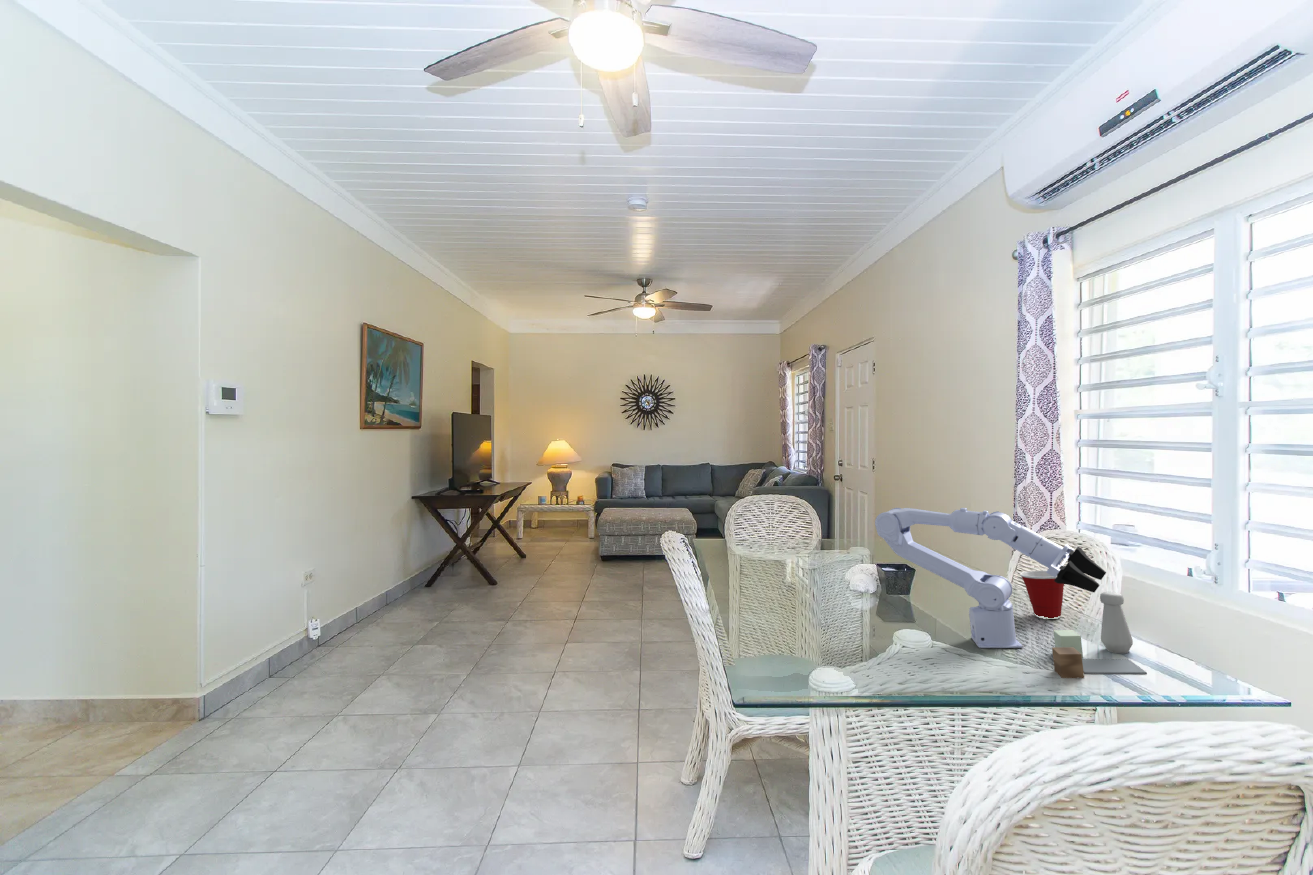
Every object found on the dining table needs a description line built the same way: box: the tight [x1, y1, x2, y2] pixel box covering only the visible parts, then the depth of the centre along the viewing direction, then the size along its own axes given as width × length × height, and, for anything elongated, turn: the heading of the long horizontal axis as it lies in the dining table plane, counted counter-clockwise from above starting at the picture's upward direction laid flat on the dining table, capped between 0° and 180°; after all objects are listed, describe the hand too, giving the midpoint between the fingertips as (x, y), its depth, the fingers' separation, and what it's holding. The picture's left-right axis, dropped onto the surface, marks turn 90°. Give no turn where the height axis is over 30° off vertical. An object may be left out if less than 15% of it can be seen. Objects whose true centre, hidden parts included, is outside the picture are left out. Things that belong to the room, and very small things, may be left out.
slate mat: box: [1082, 658, 1148, 675], centre depth 125 cm, size 11×8×1 cm
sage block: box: [1053, 629, 1084, 659], centre depth 133 cm, size 4×4×5 cm
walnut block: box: [1051, 646, 1085, 679], centre depth 124 cm, size 4×4×5 cm
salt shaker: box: [1099, 591, 1134, 655], centre depth 133 cm, size 6×6×13 cm
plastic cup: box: [1019, 570, 1065, 618], centre depth 159 cm, size 11×11×12 cm
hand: (1100, 582), depth 130 cm, fingers open, 7 cm apart
